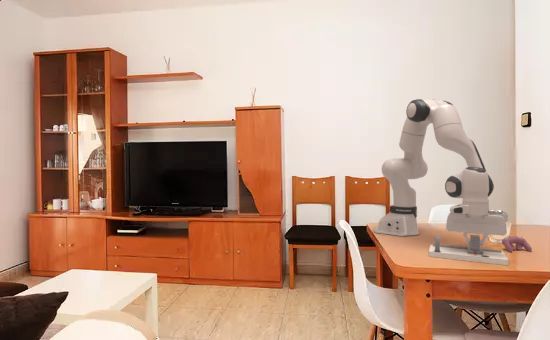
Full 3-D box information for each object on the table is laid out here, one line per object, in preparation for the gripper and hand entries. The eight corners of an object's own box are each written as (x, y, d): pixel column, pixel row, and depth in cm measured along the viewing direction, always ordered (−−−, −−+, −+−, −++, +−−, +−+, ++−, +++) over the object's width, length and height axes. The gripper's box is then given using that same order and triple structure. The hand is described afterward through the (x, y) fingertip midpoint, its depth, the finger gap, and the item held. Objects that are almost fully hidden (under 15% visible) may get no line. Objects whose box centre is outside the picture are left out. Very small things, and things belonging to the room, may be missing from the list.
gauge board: (428, 256, 134) (428, 236, 134) (430, 249, 144) (430, 230, 144) (508, 265, 122) (508, 243, 121) (503, 256, 132) (503, 236, 132)
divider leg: (468, 254, 129) (468, 237, 128) (467, 249, 135) (467, 234, 135) (483, 255, 126) (483, 239, 126) (481, 251, 133) (482, 235, 132)
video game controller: (526, 253, 143) (520, 237, 146) (533, 251, 139) (528, 234, 142) (503, 254, 142) (498, 237, 145) (510, 251, 138) (505, 234, 141)
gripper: (506, 209, 129) (506, 245, 129) (446, 206, 139) (446, 240, 139) (508, 212, 123) (508, 249, 124) (446, 208, 133) (445, 243, 133)
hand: (475, 244), depth 132 cm, fingers closed on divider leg, 3 cm apart
